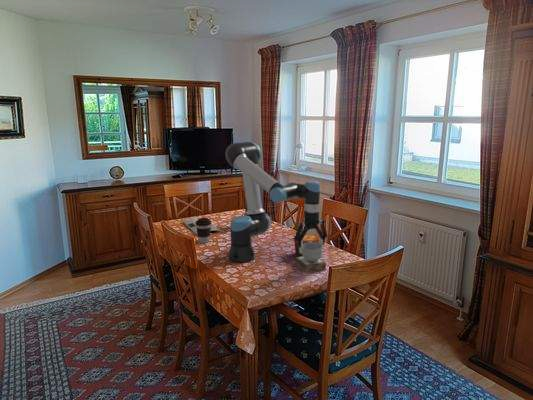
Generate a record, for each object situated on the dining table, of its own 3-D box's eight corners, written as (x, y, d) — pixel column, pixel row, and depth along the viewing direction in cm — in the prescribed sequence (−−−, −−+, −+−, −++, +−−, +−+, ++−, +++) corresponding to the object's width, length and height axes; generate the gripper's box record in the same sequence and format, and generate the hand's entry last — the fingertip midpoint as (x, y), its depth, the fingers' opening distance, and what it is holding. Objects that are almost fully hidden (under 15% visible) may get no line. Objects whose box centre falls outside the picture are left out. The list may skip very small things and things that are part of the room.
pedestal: (304, 272, 189) (305, 265, 188) (295, 264, 200) (295, 256, 199) (325, 269, 193) (325, 262, 192) (315, 261, 204) (315, 254, 203)
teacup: (321, 264, 188) (322, 249, 187) (300, 262, 190) (300, 247, 189) (322, 254, 202) (323, 240, 200) (302, 253, 204) (303, 239, 202)
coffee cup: (207, 244, 231) (206, 221, 228) (193, 243, 234) (192, 220, 231) (214, 240, 240) (213, 217, 237) (201, 238, 243) (200, 216, 240)
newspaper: (182, 223, 281) (182, 219, 280) (207, 219, 289) (206, 216, 289) (196, 236, 249) (196, 232, 248) (223, 232, 257) (223, 228, 257)
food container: (294, 249, 223) (294, 232, 221) (320, 251, 221) (321, 233, 218) (291, 259, 208) (291, 240, 206) (320, 260, 205) (320, 242, 203)
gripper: (294, 214, 183) (293, 256, 188) (335, 211, 190) (333, 251, 195) (288, 211, 190) (287, 251, 195) (328, 207, 197) (326, 246, 202)
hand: (310, 251), depth 195 cm, fingers closed on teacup, 11 cm apart
